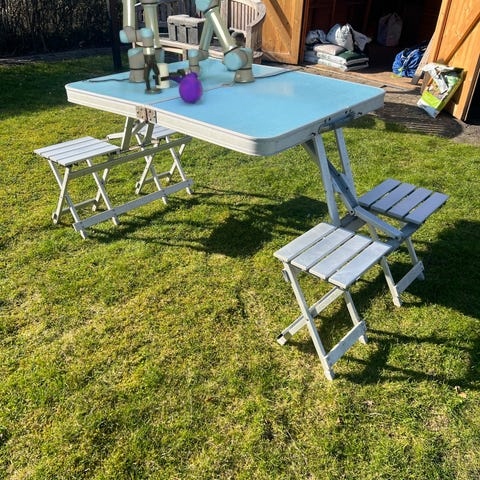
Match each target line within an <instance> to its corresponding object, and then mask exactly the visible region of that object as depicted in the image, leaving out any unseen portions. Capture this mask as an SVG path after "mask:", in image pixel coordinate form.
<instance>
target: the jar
mask: <svg viewBox="0 0 480 480" xmlns="http://www.w3.org/2000/svg"><path fill="white" fill-rule="evenodd" d="M157 66H158V69H159V72H160V75H158V77H159V85H155V88H161V89H168V88H170V87H171V82H170V81H171V80H170V79H169V80H167V81H161V78H160V77H165V76H169V72H170V70H169V64H168V63H166V62H164V63H158V64H157Z"/></svg>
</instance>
